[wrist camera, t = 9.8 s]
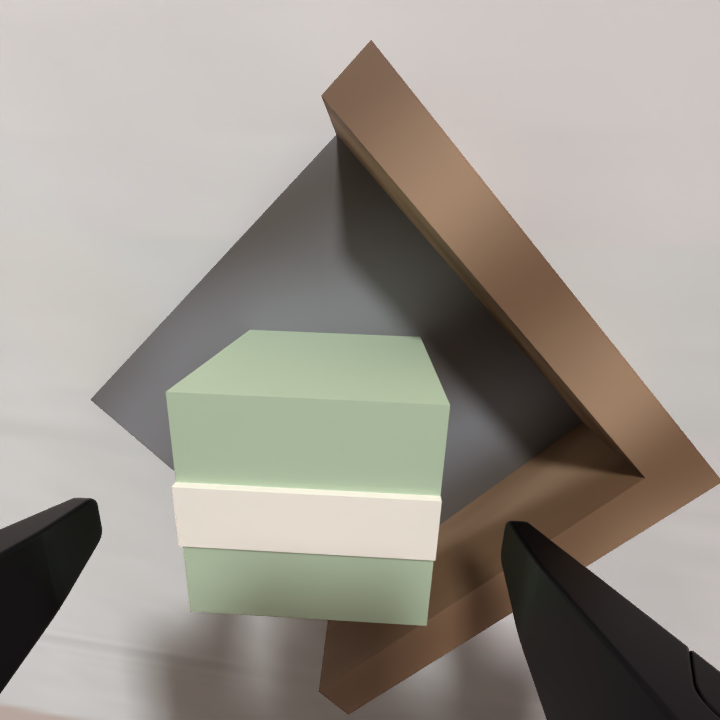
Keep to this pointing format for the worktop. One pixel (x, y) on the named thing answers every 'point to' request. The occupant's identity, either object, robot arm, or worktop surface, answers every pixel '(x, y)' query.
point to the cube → (310, 476)
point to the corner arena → (435, 363)
